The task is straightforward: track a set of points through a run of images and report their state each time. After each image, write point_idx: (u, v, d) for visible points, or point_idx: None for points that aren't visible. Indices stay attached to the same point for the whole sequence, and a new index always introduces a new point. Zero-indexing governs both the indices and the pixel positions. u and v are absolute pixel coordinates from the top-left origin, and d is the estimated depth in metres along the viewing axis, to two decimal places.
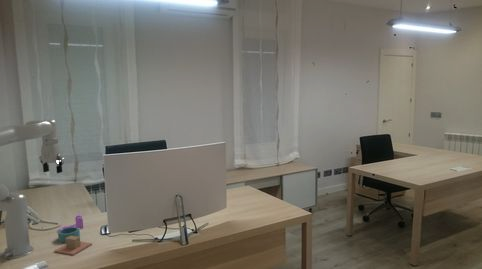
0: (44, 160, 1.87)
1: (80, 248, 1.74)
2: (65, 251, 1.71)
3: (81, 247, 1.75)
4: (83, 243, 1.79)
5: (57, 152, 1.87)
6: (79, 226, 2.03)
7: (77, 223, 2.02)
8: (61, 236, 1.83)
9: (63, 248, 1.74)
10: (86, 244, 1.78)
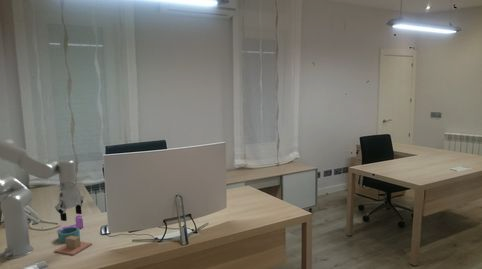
0: (71, 205, 1.70)
1: (80, 248, 1.74)
2: (65, 251, 1.71)
3: (81, 247, 1.75)
4: (83, 243, 1.79)
5: None
6: (79, 226, 2.03)
7: (77, 223, 2.02)
8: (61, 236, 1.83)
9: (63, 248, 1.74)
10: (86, 244, 1.78)
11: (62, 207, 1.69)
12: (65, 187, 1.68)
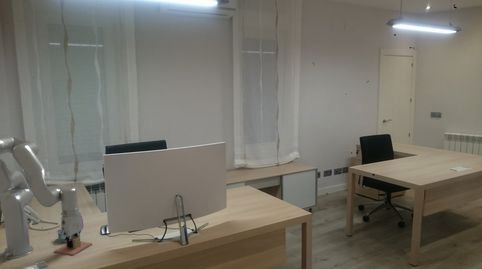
0: (73, 232, 1.72)
1: (80, 248, 1.74)
2: (65, 251, 1.71)
3: (81, 247, 1.75)
4: (83, 243, 1.79)
5: None
6: None
7: None
8: None
9: (63, 248, 1.74)
10: (86, 244, 1.78)
11: (67, 235, 1.72)
12: (67, 215, 1.70)
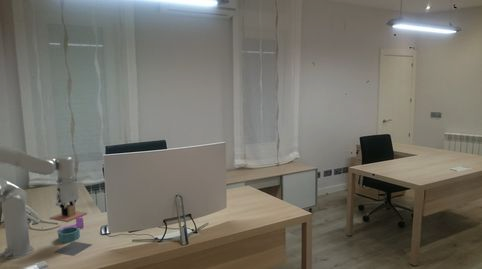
0: (68, 200, 1.76)
1: (75, 216, 1.78)
2: (60, 218, 1.75)
3: (76, 215, 1.79)
4: (78, 212, 1.83)
5: None
6: (79, 226, 2.03)
7: (77, 223, 2.02)
8: (61, 236, 1.83)
9: (58, 216, 1.78)
10: (81, 213, 1.82)
11: (62, 203, 1.76)
12: (62, 182, 1.74)
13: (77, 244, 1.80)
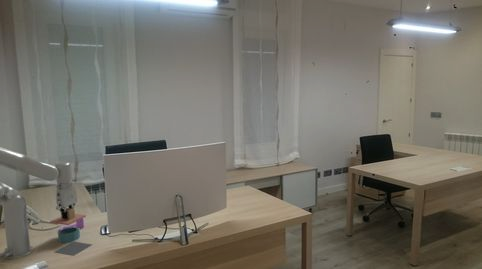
0: (67, 203, 1.83)
1: (74, 219, 1.85)
2: (60, 221, 1.82)
3: (75, 218, 1.86)
4: (77, 215, 1.91)
5: None
6: (80, 226, 2.03)
7: (78, 223, 2.02)
8: (61, 236, 1.83)
9: (58, 219, 1.85)
10: (80, 216, 1.89)
11: (61, 207, 1.83)
12: (62, 187, 1.81)
13: (77, 244, 1.80)
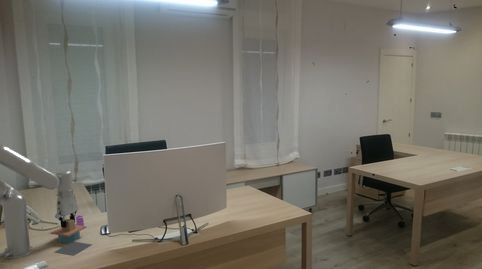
0: (68, 212, 1.84)
1: (75, 230, 1.85)
2: (60, 233, 1.82)
3: (76, 229, 1.86)
4: (78, 226, 1.91)
5: None
6: None
7: (78, 223, 2.02)
8: (61, 236, 1.83)
9: (59, 230, 1.86)
10: (80, 227, 1.90)
11: (61, 215, 1.83)
12: (62, 196, 1.81)
13: (77, 244, 1.80)
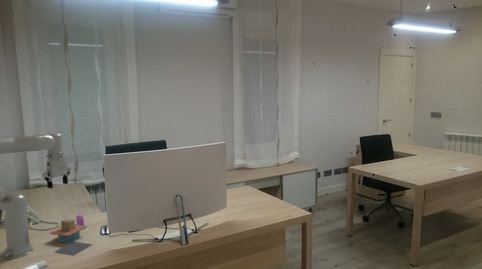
0: (57, 174, 1.85)
1: (75, 230, 1.85)
2: (60, 233, 1.82)
3: (76, 229, 1.86)
4: (78, 226, 1.91)
5: None
6: None
7: (78, 223, 2.02)
8: (61, 236, 1.83)
9: (59, 230, 1.86)
10: (80, 227, 1.90)
11: (49, 176, 1.84)
12: (52, 157, 1.83)
13: (77, 244, 1.80)
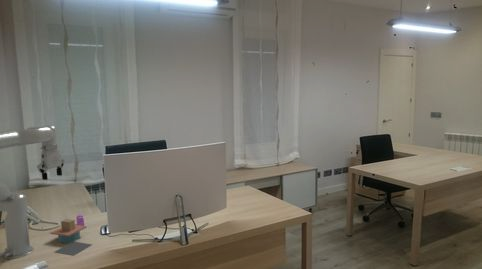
0: (52, 165, 1.89)
1: (75, 230, 1.85)
2: (60, 233, 1.82)
3: (76, 229, 1.86)
4: (78, 226, 1.91)
5: None
6: None
7: (78, 223, 2.02)
8: (61, 236, 1.83)
9: (59, 230, 1.86)
10: (80, 227, 1.90)
11: (43, 167, 1.87)
12: (46, 149, 1.86)
13: (77, 244, 1.80)
